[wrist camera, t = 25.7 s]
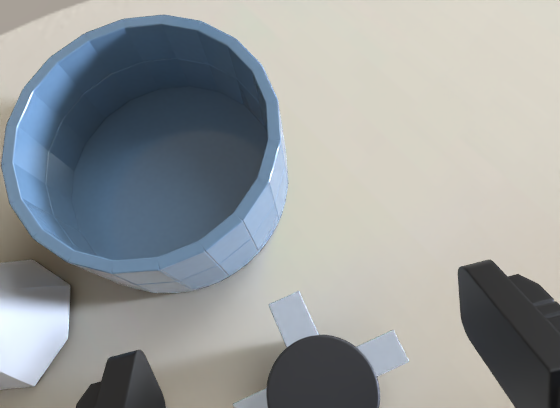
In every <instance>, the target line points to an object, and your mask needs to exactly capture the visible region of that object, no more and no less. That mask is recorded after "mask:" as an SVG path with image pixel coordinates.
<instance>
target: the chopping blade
mask: <svg viewBox="0 0 560 408" xmlns="http://www.w3.org/2000/svg"><path fill="white" fill-rule="evenodd" d="M269 307H270V310H271V312H272V314H273V317H274V319H275V321H276V324H277V326H278V328H279V331H280V333H281V336H282V338H283V340H284V343H285V345H286V347H287V348H286V349H285V350H284V351H283V352H282V353H281V354H280V355H279V357H278V358H277V359H276V361H275V363H274V364H273V366H272V369H271V371H270V374H269V377H268V381H267V388H266V389H264V390H262V391H259V392H257V393H255V394H253V395H251V396H249V397H246V398H244V399H242V400H240V401H238V402H236V403H233V407H234V408H379V405H380V389H379V384H378V380H377V377H378V376H380V375H382V374H384V373H386V372H388V371H390V370H392V369H395V368H397V367H399V366H401V365H403V364H405V363H407V362H409V360H408V358H407V356H406V354H405V352H404V350H403V348H402V346H401V344H400V342H399V340H398V338H397V336H396V334H395V332H394V330H391V331H389V332H387V333H385V334H383V335H381V336H378V337H376V338H374V339H372V340H370V341H368V342H365V343H363V344H361V345H359V346H357V347H355V346H354V345H352V344H351V343H349V342H347V341H346V340H343V339H341V338H338V337H334V336H329V335H319V334H318V332H317V330H316V328H315V325H314V323H313V321H312V319H311V316H310V314H309V312H308V310H307V308H306V305H305V303H304V301H303V299H302V296H301V294H300V292H299V291H297V292H295V293H293V294H291V295H289V296H286V297H284V298H282V299H280V300H278V301H275V302H273V303H271V304H269Z"/></svg>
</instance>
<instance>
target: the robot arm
mask: <svg viewBox="0 0 560 408" xmlns="http://www.w3.org/2000/svg"><path fill="white" fill-rule="evenodd" d="M458 284H459V298H460V312H461V320H462V323H463V327H464V329H465V332H466V334H467V336H468V338H469V340H470V341H471V343H472V344H473V346H474V347H475V349H476V350H477V352H478V353H479V355H480V356H481V358H482V359H483V361H484V362H485V364H486V365H487V366H488V368H489V369H490V371H491V372H492V374H493V375H494V377H495V378H496V380H497V381H498V383H499V384H500V386H501V387H502V389H503V390H504V392H505V393H506V394H507V396H508V397H509V399H510V400H511V402H512V403H513V405H514V406H515V408H560V305H559V304H558V303H557V302H554V299H553V298H552V297H551V296H550V295H549V294H548V293H547V292H546V291H545V290H544V289H543V288H542V287H541V286H540V285H539V284H537V283H535V282H533V281H531V280H529V279H527V278H525V277H523V276H521V275H519V274H516V275H513V276H509V277H507V276H506V275H505V274H504V272H503V271H502V270H501V269H500V268H499V267H498V266H497V265H496V264H495V263H494V262H493V261H492V260H485V261H481V262H477V263H473V264H470V265H466V266H462V267H459V269H458ZM76 408H166V406H165V401H164V397H163V394H162V391H161V389H160V387H159V385H158V382H157V380H156V378H155V376H154V374H153V372H152V369H151V367H150V365H149V363H148V361H147V359H146V356H145V355H144V353H143V352H142V351H141V350H136V351H132V352H128V353H124V354H120V355H117V356H113V357H110V358H109V359H108V360H107V363H106V366H105V370H104V373H103V377H102V381H101V382H98V383H94V384H91V385H90V386H89V388H88V389H87V390H86V392H85V393H84V394H83V396H82V397H81V399H80V400H79V401H78V403H77V405H76Z"/></svg>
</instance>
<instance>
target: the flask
mask: <svg viewBox="0 0 560 408" xmlns="http://www.w3.org/2000/svg"><path fill="white" fill-rule="evenodd" d="M69 309H70V285H69V284H68V283H66V282H65V281H63V280H62V279H61V278H59V277H58V276H56V275H55V274H53V273H52V272H50V271H49V270H47V269H46V268H44V267H43V266H41V265H40V264H38V263H37V262H36V261H34V260H33V259H32V260H23V261H14V262H5V263H0V390H4V389H14V388H24V387H34V386H35V385H36V384H37V382H38V381H39V379H40V378H41V376H42V375H43V374H44V372H45V371H46V369H47V368H48V366H49V365H50V364H51V362H52V361H53V359H54V358H55V356H56V355H57V354H58V352H59V351H60V349H61V348H62V346H63V345H64V344H65V342H66V341H67V339H68V333H69Z"/></svg>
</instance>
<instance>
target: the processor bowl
mask: <svg viewBox="0 0 560 408" xmlns="http://www.w3.org/2000/svg"><path fill="white" fill-rule="evenodd" d="M6 125H7V126H6V130H5V138H4V146H3V154H2V162H1V165H2V166H1V168H2V172H3V177H4V181H5V186H6V190H7V195H8V199H9V204H10V205H11V207H12V209H13V210H14V212H15V213H16V215H17V216H18V218H19V219H20V221H21V222H22V224H23V225H24V226H25V228H26V229H27V231H28V232H29V234H30V235H31V237H32V238H33V239H34V240H35V241H37V242H38V243H40V244H41V245H42V246H44V247H45V248H47V249H48V250H50V251H51V252H53V253H54V254H55V255H57V256H58V257H60V258H61V259H63V260H64V261H66V262H67V263H70V264H72V265H74V266H77V267H79V268H82V269H84V270H86V271H89V272H91V273H94V274H96V275H98V276H101V277H103V278H106V279H108V280H110V281H113V282H115V283H118V284H120V285H124V286H128V287H131V288H135V289H138V290H142V291H146V292H151V293H182V292H189V291H194V290H198V289H201V288H205V287H208V286H210V285H213V284H215V283H217V282H220V281H222V280H224V279H225V278H227V277H229V276H231V275H232V274H234V273H236V272H237V271H238V270H240V269H241V268H242V267H243V266H245V265H246V264H247V263H248V262H250V261H251V260H252V259H253V258H254V257H255V256H256V255H257V254H258V253H259V251H260V250H261V249H262V248H263V246H264V245H265V244H266V243H267V241H268V240H269V238H270V237H271V235H272V233H273V232H274V230H275V228H276V226H277V224H278V222H279V219H280V217H281V215H282V212H283V208H284V204H285V201H286V195H287V188H288V170H287V159H286V149H285V142H284V136H283V129H282V122H281V116H280V109H279V102H278V99H277V97H276V94H275V92H274V90H273V88H272V85H271V83H270V81H269V79H268V77H267V74H266V72H265V70H264V68H263V66H262V65H261V63H260V62H259V61H258V60H257V59H256V58H255V57H254V56H253V55H252V54H251V53H250V52H249V51H248V50H247V49H246V48H245V47H244V46H243V45H242V44H241V43H240V42H239V41H238V40H237V39H235V38H234V37H232V36H230V35H228V34H226V33H224V32H222V31H220V30H218V29H216V28H214V27H212V26H210V25H208V24H206V23H204V22H202V21H198V20H193V19H187V18H181V17H175V16H169V15H155V16H146V17H136V18H126V19H121V20H119V21H116V22H113V23H111V24H108V25H105V26H103V27H100V28H97V29H94V30H92V31H89V32H86V33H85V34H83V35H81V36H80V37H78V38H77V39H75V40H74V41H73V42H71V43H70V44H68V45H67V46H65V47H64V48H62V49H61V50H60V51H58V52H57V53H55V54H54V55H52V56H51V57H50V58H49V59H48V60H47V61H46V62H45V63H44V65H43V66H42V67H41V68H40V69H39V70H38V72H37V73H36V74H35V75H34V76H33V77H32V79H31V80H30V81H29V82H28V83H27V84H26V86H25V87H24V89H23V90H22V92H21V94H20V96H19V98H18V101H17V103H16V105H15V107H14V109H13V111H12V114H11V116H10V118H9V120H8V122H7V124H6Z"/></svg>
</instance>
